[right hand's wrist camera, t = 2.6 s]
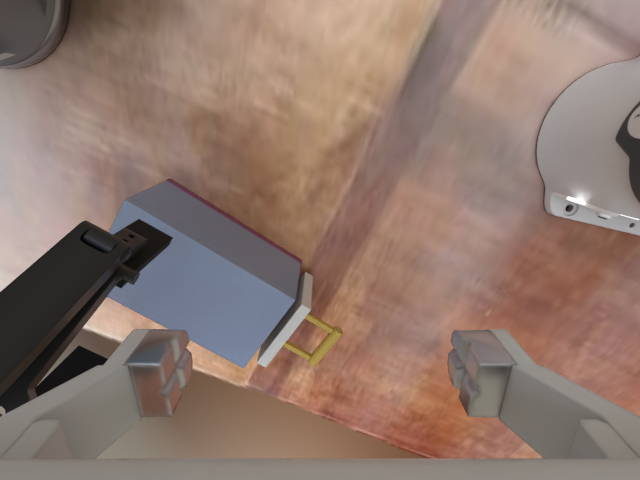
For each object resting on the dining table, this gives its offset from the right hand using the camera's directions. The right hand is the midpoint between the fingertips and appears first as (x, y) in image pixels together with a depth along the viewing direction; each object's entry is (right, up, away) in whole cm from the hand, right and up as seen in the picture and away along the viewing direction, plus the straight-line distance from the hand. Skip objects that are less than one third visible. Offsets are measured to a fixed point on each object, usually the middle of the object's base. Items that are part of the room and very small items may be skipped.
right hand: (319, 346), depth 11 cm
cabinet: (-13, +2, +32) cm, 34 cm away
